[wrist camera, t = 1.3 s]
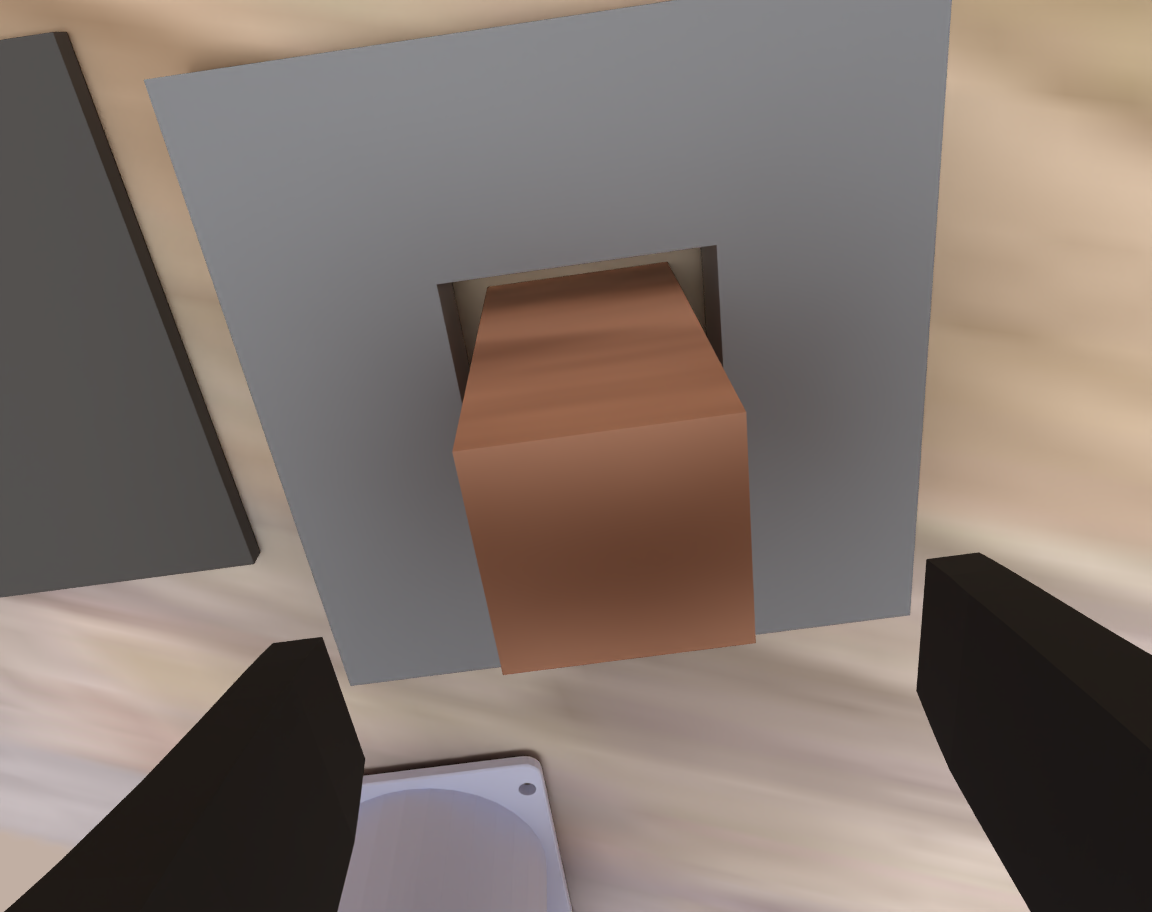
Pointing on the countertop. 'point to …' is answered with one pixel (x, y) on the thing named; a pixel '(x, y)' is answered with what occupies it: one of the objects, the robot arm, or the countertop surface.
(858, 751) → the countertop surface
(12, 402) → the mat
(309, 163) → the holder
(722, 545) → the block
